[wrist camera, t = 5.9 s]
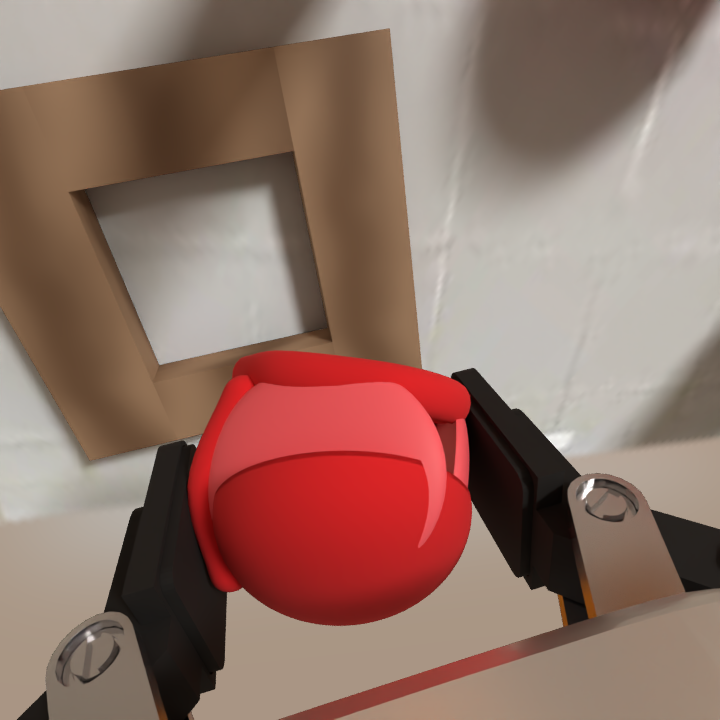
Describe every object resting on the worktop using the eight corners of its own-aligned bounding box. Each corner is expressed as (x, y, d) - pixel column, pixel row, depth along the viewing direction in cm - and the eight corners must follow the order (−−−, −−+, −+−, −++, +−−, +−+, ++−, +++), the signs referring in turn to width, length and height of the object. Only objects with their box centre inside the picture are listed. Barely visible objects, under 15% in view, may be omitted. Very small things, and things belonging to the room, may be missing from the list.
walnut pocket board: (378, 34, 22) (389, 28, 20) (413, 365, 30) (423, 380, 29) (-83, 108, 20) (-115, 108, 18) (99, 439, 28) (89, 460, 27)
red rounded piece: (166, 295, 7) (70, 697, 7) (542, 360, 7) (485, 784, 6) (270, 359, 15) (231, 546, 15) (450, 391, 15) (420, 583, 14)
